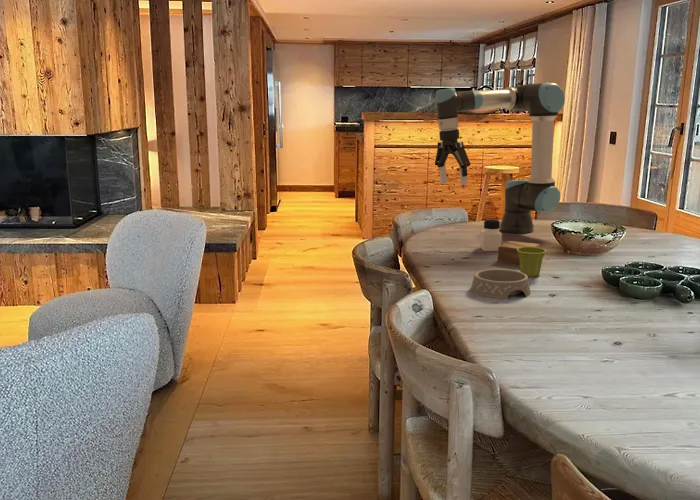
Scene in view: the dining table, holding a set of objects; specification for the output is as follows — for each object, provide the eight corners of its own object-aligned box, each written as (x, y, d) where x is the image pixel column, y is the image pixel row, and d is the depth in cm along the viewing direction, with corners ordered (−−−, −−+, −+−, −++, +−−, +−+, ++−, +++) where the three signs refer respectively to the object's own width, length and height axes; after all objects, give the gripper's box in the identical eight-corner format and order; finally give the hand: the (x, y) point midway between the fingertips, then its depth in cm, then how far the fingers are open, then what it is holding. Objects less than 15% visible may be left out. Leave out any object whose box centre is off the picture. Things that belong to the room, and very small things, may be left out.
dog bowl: (460, 287, 198) (460, 271, 197) (509, 281, 204) (510, 265, 203) (490, 302, 182) (491, 285, 181) (542, 295, 189) (543, 278, 187)
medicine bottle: (501, 251, 244) (503, 221, 242) (483, 251, 245) (484, 221, 242) (497, 247, 251) (499, 218, 249) (480, 247, 252) (481, 218, 249)
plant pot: (545, 279, 205) (547, 253, 203) (516, 277, 207) (517, 252, 205) (543, 271, 214) (544, 247, 212) (514, 270, 216) (516, 246, 214)
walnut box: (507, 256, 237) (508, 240, 236) (539, 260, 231) (540, 243, 230) (497, 263, 227) (498, 246, 226) (530, 267, 221) (531, 250, 220)
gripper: (422, 131, 250) (428, 183, 255) (460, 130, 228) (465, 187, 233) (438, 129, 253) (443, 180, 258) (476, 127, 231) (481, 183, 236)
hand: (453, 183), depth 246 cm, fingers open, 13 cm apart
